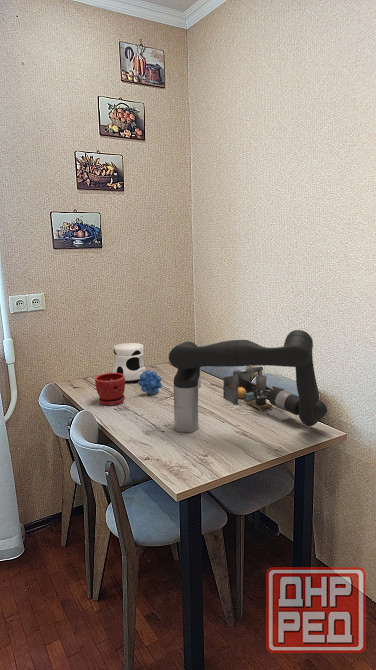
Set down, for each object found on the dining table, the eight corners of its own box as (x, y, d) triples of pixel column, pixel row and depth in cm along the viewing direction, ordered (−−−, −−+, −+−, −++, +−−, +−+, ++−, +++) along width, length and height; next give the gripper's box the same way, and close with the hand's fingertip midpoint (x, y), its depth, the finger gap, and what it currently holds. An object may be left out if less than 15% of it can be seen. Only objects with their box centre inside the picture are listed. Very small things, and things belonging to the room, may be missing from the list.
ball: (240, 400, 208) (246, 399, 204) (231, 395, 207) (237, 394, 202) (243, 390, 210) (249, 389, 206) (235, 385, 209) (241, 384, 204)
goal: (262, 399, 205) (263, 367, 202) (235, 404, 198) (235, 371, 195) (249, 392, 213) (249, 362, 210) (222, 398, 206) (222, 366, 203)
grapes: (142, 399, 206) (141, 374, 204) (137, 395, 212) (136, 370, 210) (165, 395, 211) (165, 370, 209) (160, 391, 217) (159, 367, 215)
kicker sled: (272, 407, 192) (272, 378, 189) (260, 409, 189) (261, 380, 186) (254, 398, 202) (255, 371, 199) (244, 401, 199) (244, 373, 197)
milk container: (111, 376, 243) (109, 343, 240) (142, 373, 248) (141, 341, 245) (115, 385, 227) (114, 350, 223) (149, 382, 232) (148, 348, 228)
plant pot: (112, 395, 212) (111, 370, 210) (131, 401, 204) (130, 375, 202) (90, 402, 203) (88, 377, 200) (109, 409, 194) (108, 382, 192)
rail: (291, 419, 181) (291, 417, 181) (281, 421, 179) (281, 419, 178) (268, 408, 193) (269, 406, 193) (259, 410, 191) (259, 409, 190)
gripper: (297, 387, 183) (270, 377, 197) (269, 393, 176) (243, 382, 191) (296, 405, 184) (269, 393, 199) (268, 411, 177) (243, 399, 192)
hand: (257, 388), depth 195 cm, fingers closed on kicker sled, 4 cm apart
